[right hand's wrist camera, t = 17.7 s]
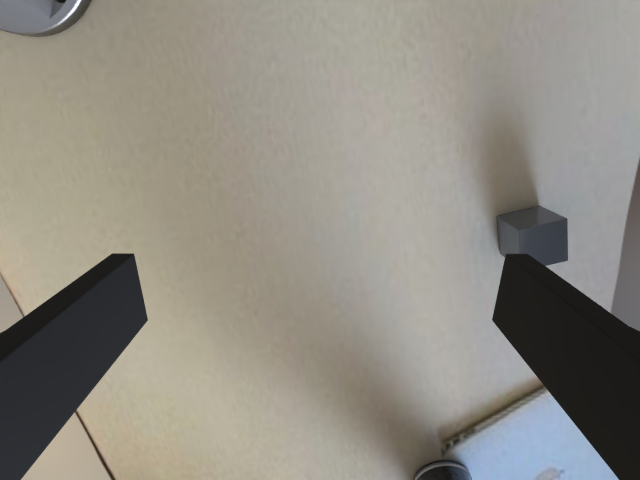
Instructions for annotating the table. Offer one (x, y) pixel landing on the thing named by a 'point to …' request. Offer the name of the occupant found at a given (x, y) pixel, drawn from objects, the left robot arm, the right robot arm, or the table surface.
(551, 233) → the slate cube
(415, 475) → the left robot arm
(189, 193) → the table surface
